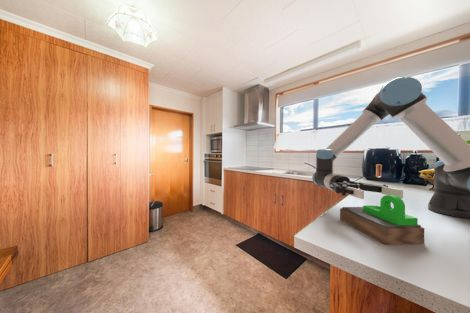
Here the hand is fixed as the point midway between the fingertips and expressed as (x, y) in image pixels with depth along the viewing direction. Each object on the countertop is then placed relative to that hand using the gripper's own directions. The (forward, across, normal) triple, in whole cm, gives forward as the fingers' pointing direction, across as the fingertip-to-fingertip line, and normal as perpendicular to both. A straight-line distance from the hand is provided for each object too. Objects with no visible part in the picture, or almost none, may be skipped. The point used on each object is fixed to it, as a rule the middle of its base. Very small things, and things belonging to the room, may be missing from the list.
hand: (382, 194), depth 53 cm
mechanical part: (0, -2, -8) cm, 8 cm away
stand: (-2, 0, -12) cm, 13 cm away
